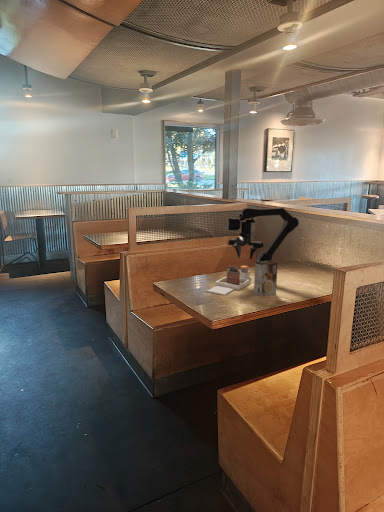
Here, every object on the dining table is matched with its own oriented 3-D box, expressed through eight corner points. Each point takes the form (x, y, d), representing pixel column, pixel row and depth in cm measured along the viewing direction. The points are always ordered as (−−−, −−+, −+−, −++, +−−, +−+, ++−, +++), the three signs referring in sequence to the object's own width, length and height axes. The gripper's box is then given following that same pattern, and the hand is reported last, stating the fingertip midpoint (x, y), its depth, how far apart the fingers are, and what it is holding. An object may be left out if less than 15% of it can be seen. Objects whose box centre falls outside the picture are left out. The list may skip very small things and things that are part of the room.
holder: (255, 279, 203) (256, 272, 202) (238, 289, 185) (239, 281, 184) (233, 275, 210) (234, 268, 209) (215, 285, 192) (215, 277, 191)
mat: (233, 290, 184) (233, 289, 184) (224, 295, 176) (224, 294, 175) (216, 286, 189) (216, 285, 189) (206, 291, 181) (206, 290, 181)
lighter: (240, 285, 192) (241, 267, 190) (237, 286, 190) (237, 268, 188) (228, 282, 198) (229, 264, 196) (224, 283, 195) (225, 265, 193)
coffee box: (267, 290, 184) (269, 259, 181) (276, 294, 179) (278, 262, 175) (253, 293, 180) (254, 261, 176) (261, 296, 174) (263, 264, 171)
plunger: (249, 273, 203) (249, 266, 202) (246, 275, 200) (246, 268, 199) (242, 272, 205) (242, 265, 205) (238, 274, 202) (239, 266, 201)
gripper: (224, 231, 195) (223, 259, 199) (256, 234, 186) (254, 263, 189) (233, 228, 205) (232, 255, 208) (264, 231, 195) (262, 259, 198)
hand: (244, 258), depth 201 cm, fingers open, 7 cm apart
